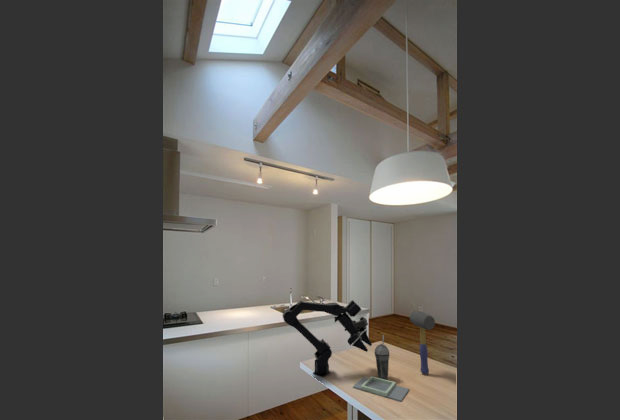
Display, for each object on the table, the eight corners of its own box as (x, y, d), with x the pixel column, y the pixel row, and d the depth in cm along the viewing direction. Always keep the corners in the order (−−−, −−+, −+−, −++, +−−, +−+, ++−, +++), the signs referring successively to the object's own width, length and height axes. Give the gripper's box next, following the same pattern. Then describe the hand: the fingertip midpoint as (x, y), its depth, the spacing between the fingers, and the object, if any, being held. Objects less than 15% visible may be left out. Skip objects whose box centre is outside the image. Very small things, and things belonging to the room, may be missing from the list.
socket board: (352, 387, 131) (352, 383, 131) (363, 377, 141) (363, 374, 141) (401, 402, 119) (400, 397, 119) (409, 390, 129) (408, 385, 129)
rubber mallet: (439, 378, 140) (435, 314, 144) (426, 380, 138) (423, 315, 142) (423, 368, 152) (420, 309, 156) (410, 370, 150) (408, 310, 154)
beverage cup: (372, 376, 143) (371, 334, 145) (384, 374, 145) (383, 332, 148) (380, 382, 136) (379, 338, 138) (393, 380, 138) (391, 336, 141)
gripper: (353, 316, 141) (376, 343, 135) (362, 309, 158) (383, 332, 152) (338, 332, 143) (360, 358, 137) (348, 322, 160) (369, 346, 154)
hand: (369, 348), depth 145 cm, fingers open, 9 cm apart
